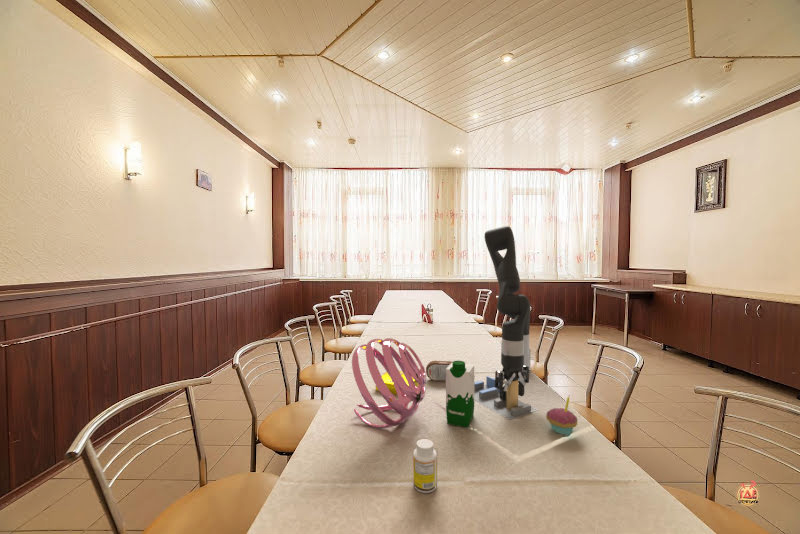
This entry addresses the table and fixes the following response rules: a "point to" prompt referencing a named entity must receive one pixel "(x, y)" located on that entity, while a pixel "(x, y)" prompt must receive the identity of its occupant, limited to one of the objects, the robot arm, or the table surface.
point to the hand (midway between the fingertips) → (512, 398)
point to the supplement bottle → (425, 466)
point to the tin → (437, 370)
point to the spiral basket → (403, 389)
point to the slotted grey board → (498, 400)
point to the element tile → (390, 383)
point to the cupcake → (562, 419)
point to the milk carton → (459, 393)
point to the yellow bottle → (512, 395)
